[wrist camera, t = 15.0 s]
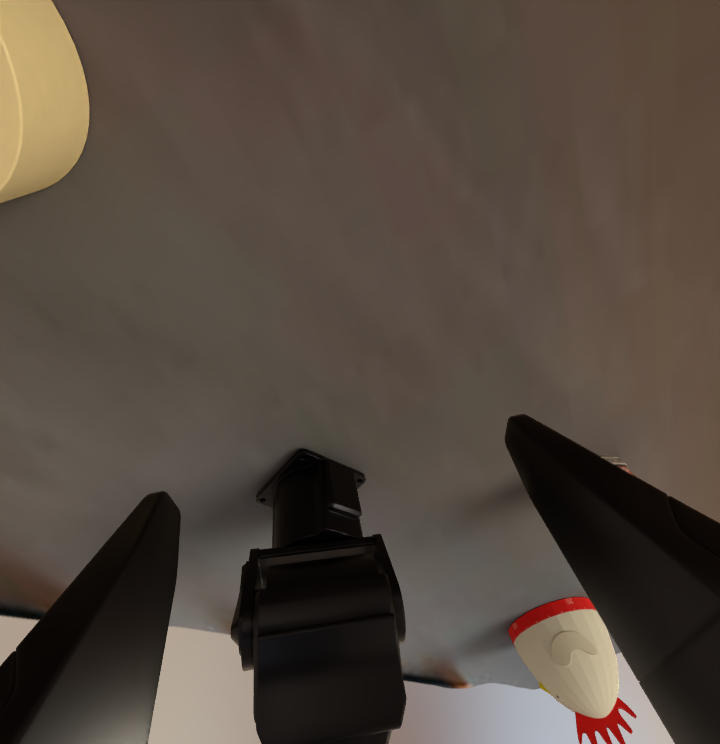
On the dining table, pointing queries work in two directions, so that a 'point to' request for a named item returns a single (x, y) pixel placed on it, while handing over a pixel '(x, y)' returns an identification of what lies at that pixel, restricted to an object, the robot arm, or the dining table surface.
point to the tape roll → (38, 98)
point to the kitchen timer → (574, 663)
